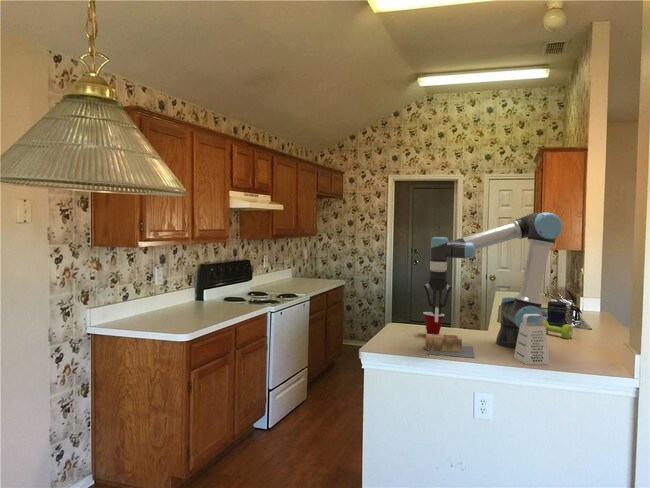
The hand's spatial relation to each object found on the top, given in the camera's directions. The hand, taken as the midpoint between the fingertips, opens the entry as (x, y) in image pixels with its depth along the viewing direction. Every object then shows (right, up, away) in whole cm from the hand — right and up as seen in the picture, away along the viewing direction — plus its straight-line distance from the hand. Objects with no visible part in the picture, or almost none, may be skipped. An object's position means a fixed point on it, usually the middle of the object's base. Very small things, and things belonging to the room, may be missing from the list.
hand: (436, 321), depth 226 cm
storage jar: (+79, -12, +51) cm, 95 cm away
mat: (+6, -13, -1) cm, 15 cm away
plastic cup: (+5, -12, +27) cm, 30 cm away
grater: (+38, -15, -15) cm, 43 cm away
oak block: (-5, -10, +2) cm, 11 cm away
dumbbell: (+70, -13, +34) cm, 79 cm away
